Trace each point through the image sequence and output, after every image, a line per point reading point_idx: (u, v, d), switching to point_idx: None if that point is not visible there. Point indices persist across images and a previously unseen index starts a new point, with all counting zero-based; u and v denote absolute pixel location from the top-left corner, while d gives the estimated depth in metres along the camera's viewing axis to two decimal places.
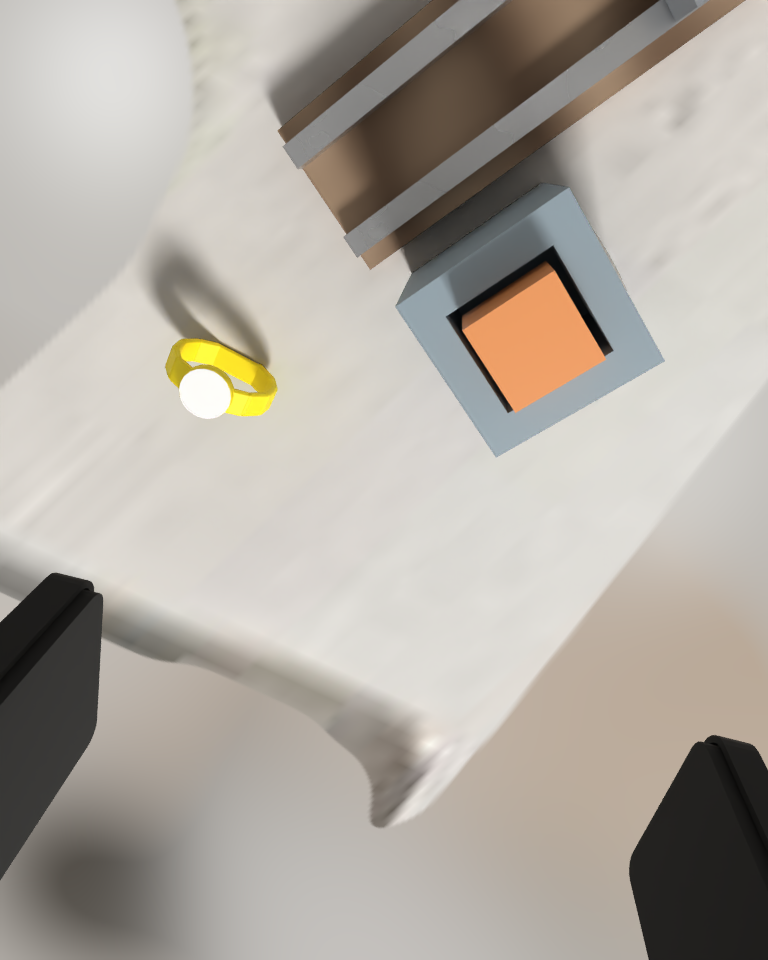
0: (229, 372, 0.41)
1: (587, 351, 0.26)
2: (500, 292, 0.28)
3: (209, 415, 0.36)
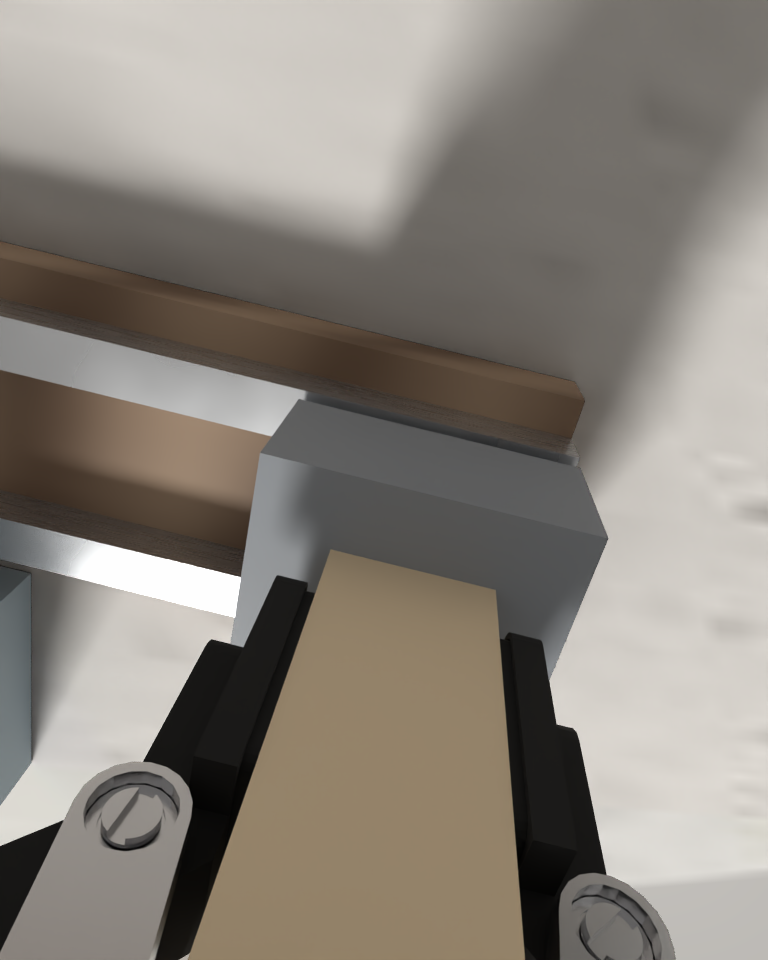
0: None
1: None
2: None
3: None
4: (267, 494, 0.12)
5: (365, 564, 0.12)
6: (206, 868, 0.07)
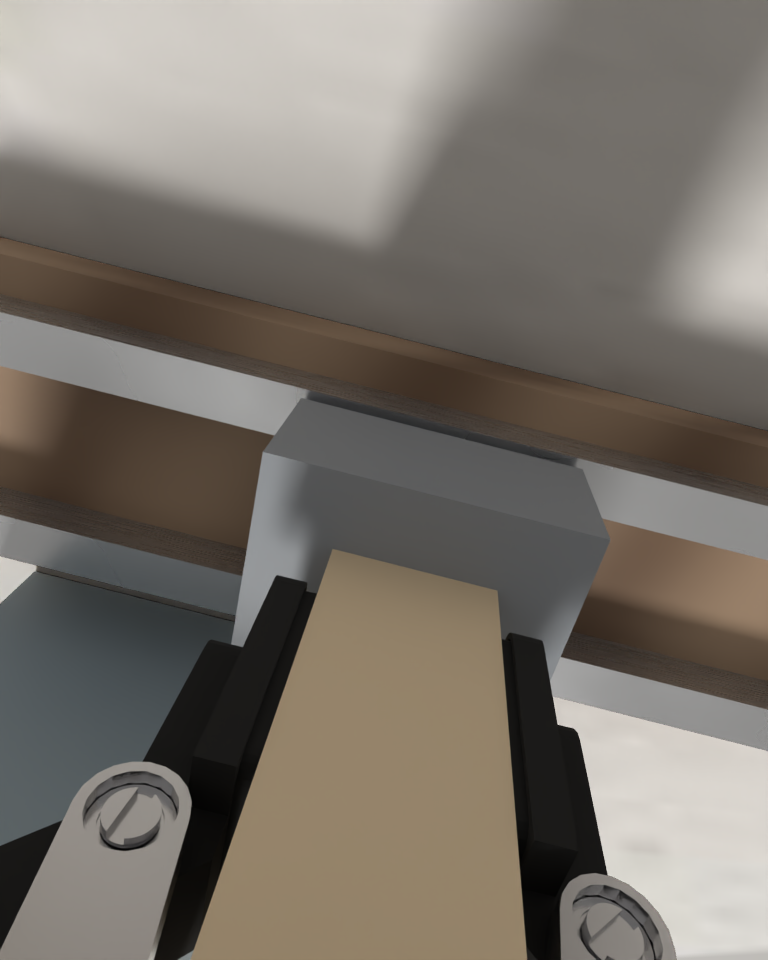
0: None
1: None
2: None
3: None
4: (269, 493, 0.12)
5: (367, 564, 0.12)
6: (205, 868, 0.07)
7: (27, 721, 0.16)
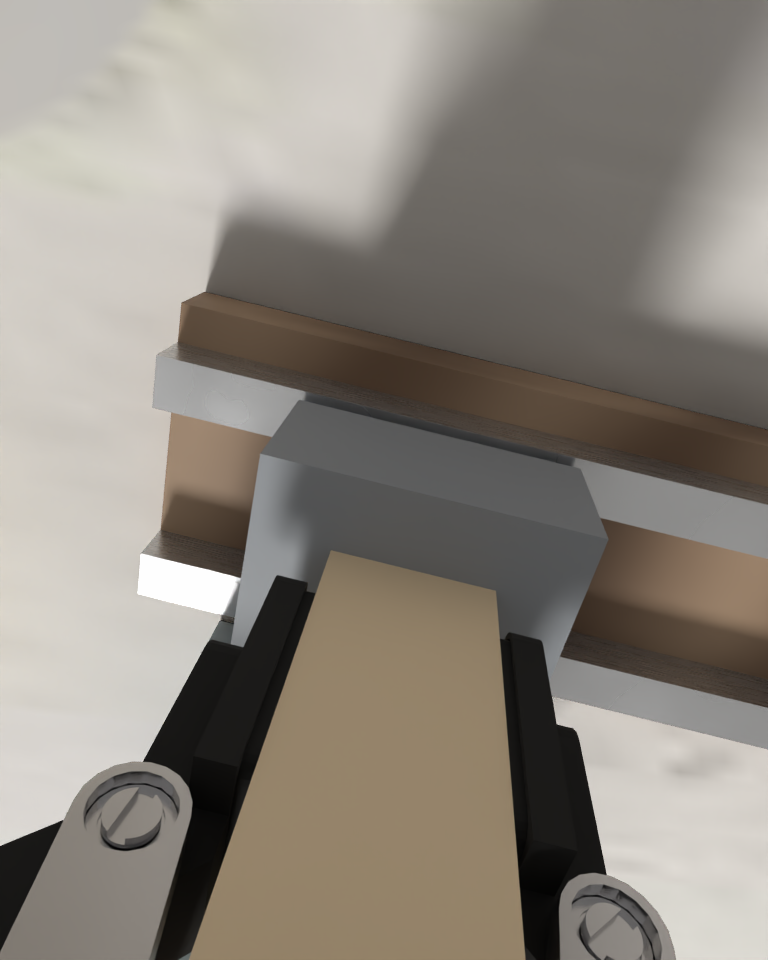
0: None
1: None
2: None
3: None
4: (267, 495, 0.12)
5: (365, 565, 0.12)
6: (206, 868, 0.07)
7: None
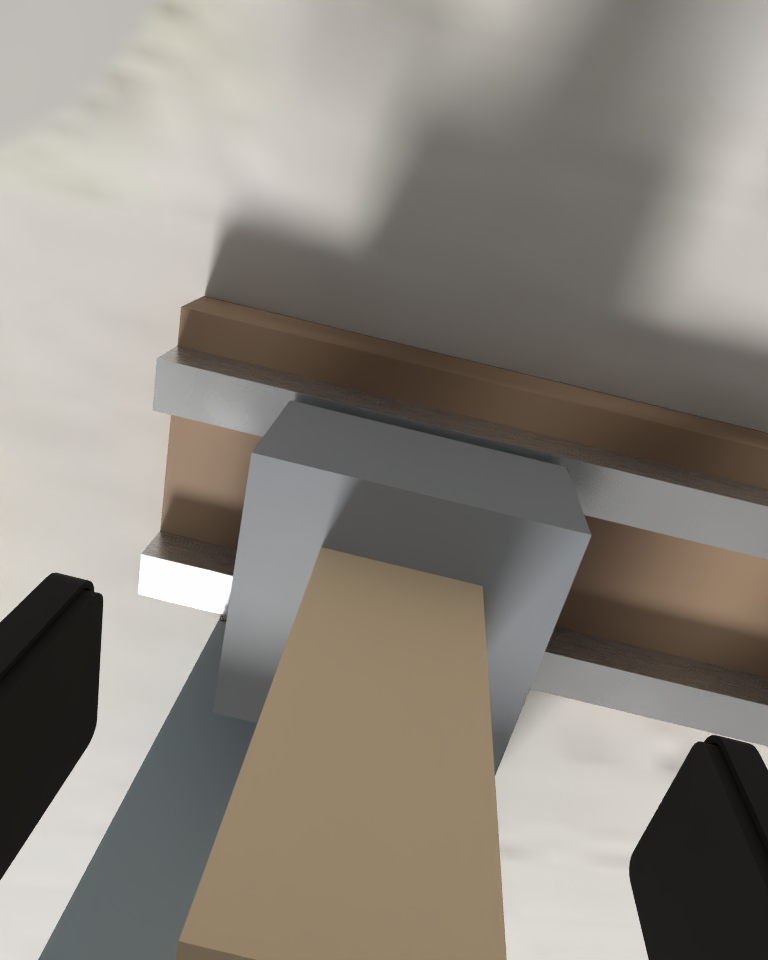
0: None
1: None
2: None
3: None
4: (259, 493, 0.12)
5: (355, 561, 0.12)
6: None
7: None
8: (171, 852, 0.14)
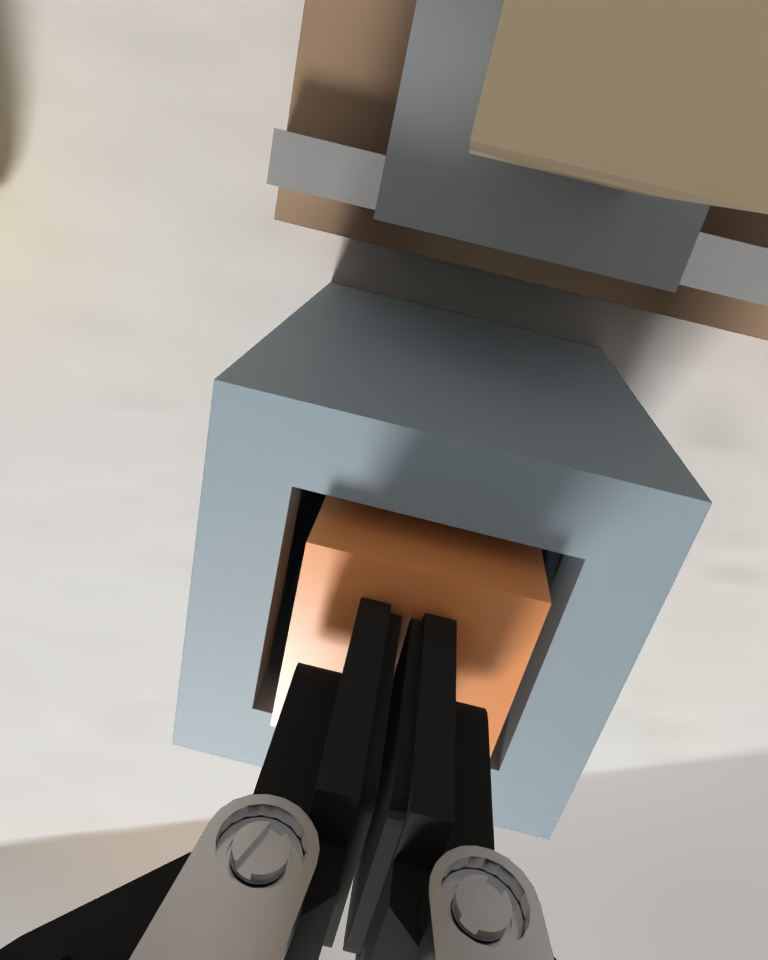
0: None
1: None
2: None
3: None
4: None
5: None
6: (330, 902, 0.07)
7: (413, 349, 0.15)
8: (331, 359, 0.13)
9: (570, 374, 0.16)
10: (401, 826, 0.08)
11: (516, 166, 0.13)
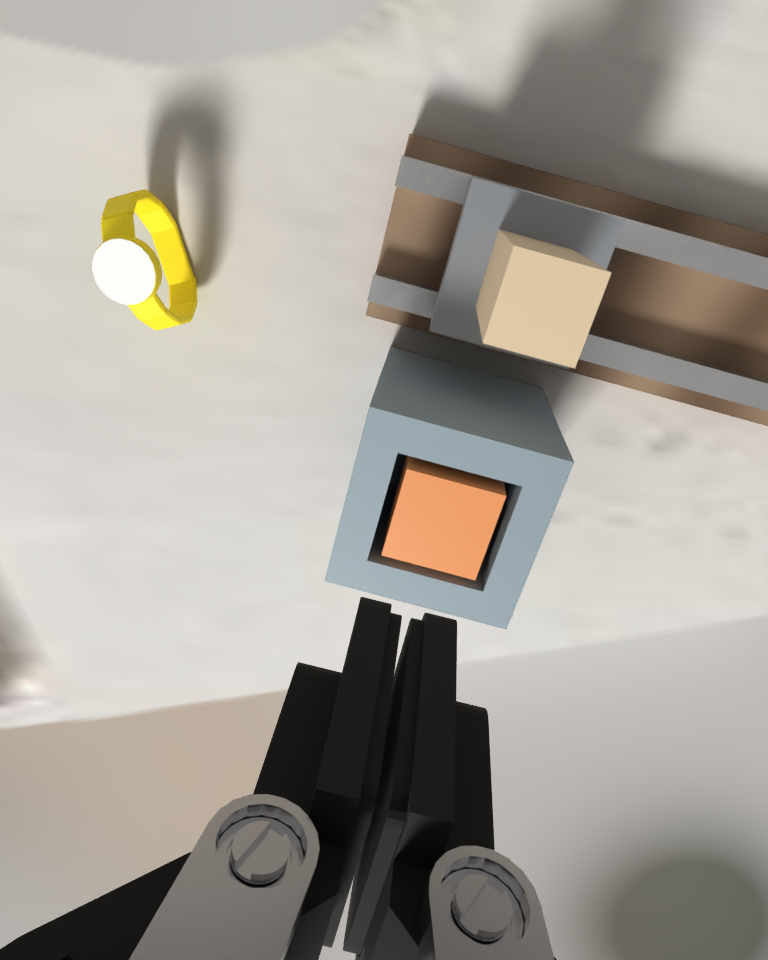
0: (160, 255, 0.34)
1: (469, 564, 0.28)
2: None
3: (108, 292, 0.29)
4: (473, 199, 0.26)
5: (515, 233, 0.26)
6: (330, 902, 0.07)
7: (444, 390, 0.30)
8: (409, 396, 0.28)
9: (522, 404, 0.31)
10: (401, 826, 0.08)
11: None
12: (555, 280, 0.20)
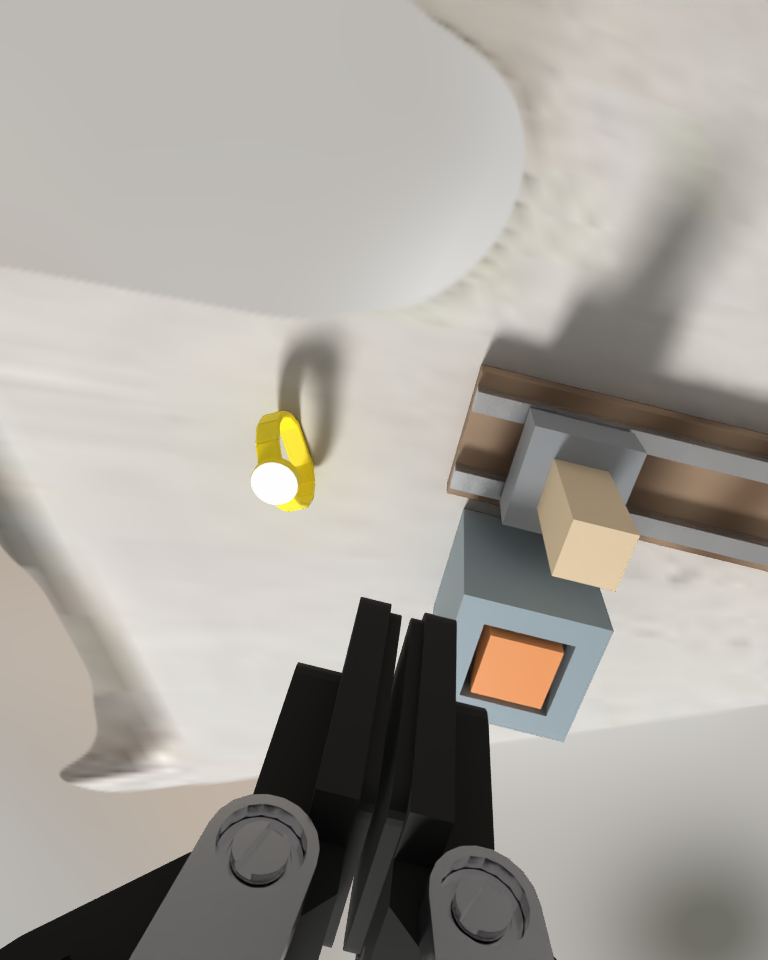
0: (286, 446, 0.44)
1: (536, 698, 0.38)
2: None
3: (262, 496, 0.39)
4: (535, 439, 0.36)
5: (566, 463, 0.36)
6: (330, 902, 0.07)
7: (511, 560, 0.40)
8: (488, 574, 0.38)
9: None
10: (401, 826, 0.08)
11: None
12: (601, 539, 0.30)
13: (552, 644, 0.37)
